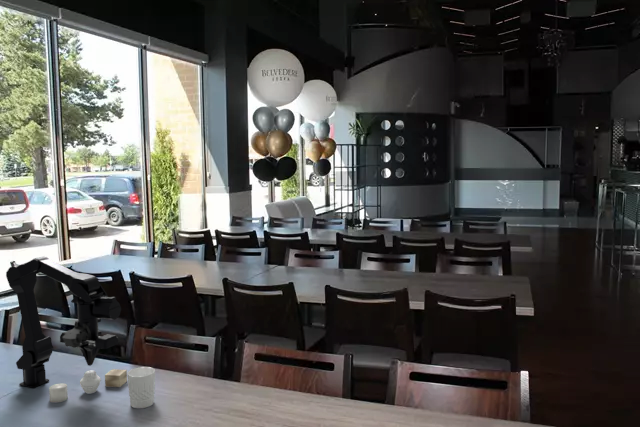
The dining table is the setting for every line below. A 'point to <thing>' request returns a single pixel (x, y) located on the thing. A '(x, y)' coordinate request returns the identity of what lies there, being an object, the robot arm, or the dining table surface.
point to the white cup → (141, 386)
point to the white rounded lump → (58, 393)
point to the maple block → (115, 378)
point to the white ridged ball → (90, 382)
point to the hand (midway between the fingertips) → (90, 365)
